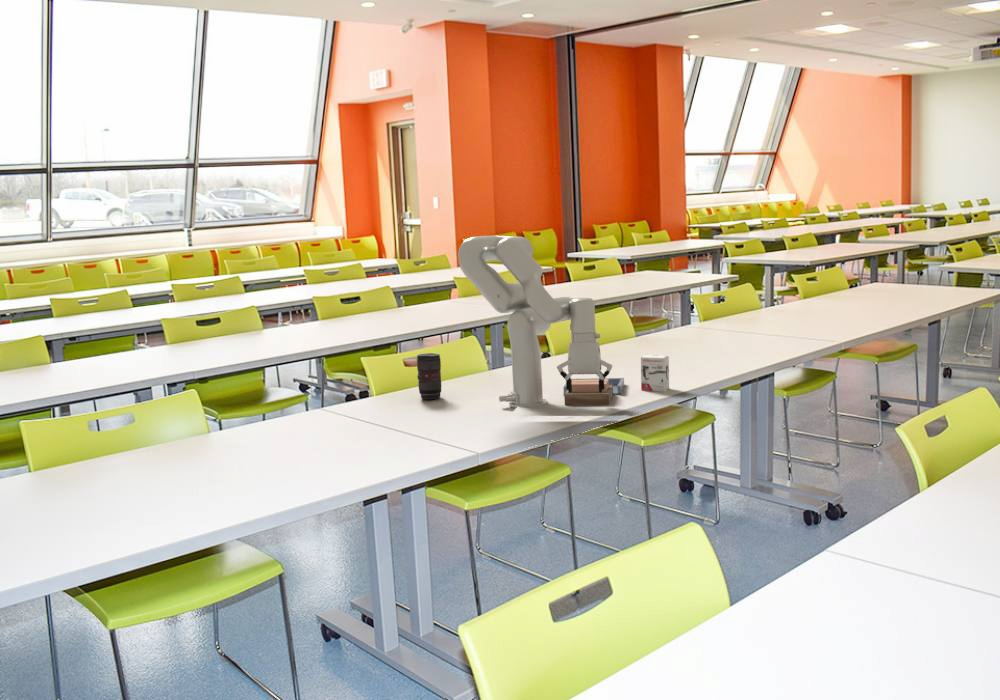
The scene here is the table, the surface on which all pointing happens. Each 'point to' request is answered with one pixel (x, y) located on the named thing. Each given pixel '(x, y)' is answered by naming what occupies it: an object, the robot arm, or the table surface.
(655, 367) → the ink box
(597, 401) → the plate
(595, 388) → the tile
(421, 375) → the camera lens
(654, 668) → the table surface
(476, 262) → the robot arm
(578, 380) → the tile
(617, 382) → the tray
